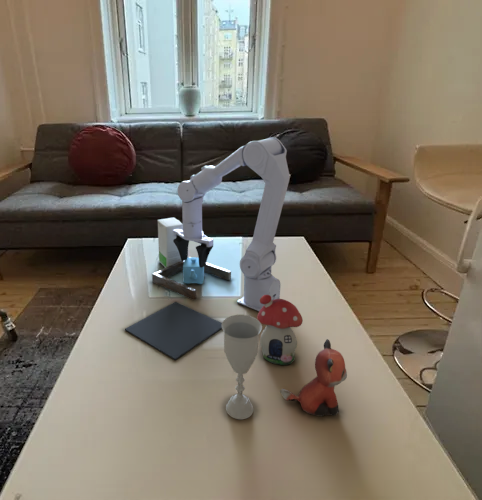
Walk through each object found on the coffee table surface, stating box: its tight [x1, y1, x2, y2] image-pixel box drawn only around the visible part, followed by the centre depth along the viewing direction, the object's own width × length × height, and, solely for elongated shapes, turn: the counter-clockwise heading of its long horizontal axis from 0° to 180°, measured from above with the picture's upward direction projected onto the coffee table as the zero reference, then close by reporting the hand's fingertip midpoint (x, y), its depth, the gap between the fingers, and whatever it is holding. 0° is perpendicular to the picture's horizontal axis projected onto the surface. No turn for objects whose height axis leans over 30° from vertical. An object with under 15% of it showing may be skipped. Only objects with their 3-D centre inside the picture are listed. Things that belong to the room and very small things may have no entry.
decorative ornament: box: [256, 295, 304, 366], centre depth 83 cm, size 9×6×15 cm
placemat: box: [124, 301, 223, 361], centre depth 97 cm, size 18×18×1 cm
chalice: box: [221, 314, 263, 420], centre depth 68 cm, size 7×7×18 cm
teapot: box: [182, 256, 205, 285], centre depth 119 cm, size 12×6×8 cm, turn 176°
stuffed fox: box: [279, 338, 348, 417], centre depth 70 cm, size 8×11×12 cm
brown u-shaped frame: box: [151, 261, 232, 301], centre depth 121 cm, size 18×17×3 cm
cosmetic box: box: [157, 217, 183, 268], centre depth 131 cm, size 8×7×16 cm
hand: (193, 262), depth 118 cm, fingers closed on teapot, 7 cm apart
